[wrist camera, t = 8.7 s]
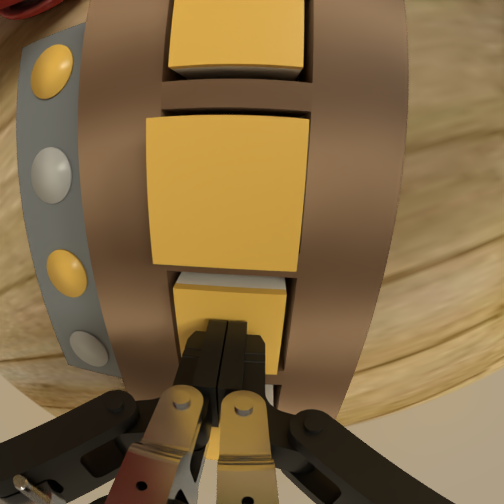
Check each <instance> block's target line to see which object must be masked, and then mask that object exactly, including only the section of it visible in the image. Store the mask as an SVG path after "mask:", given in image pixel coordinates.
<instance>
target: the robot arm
mask: <svg viewBox="0 0 504 504" xmlns="http://www.w3.org/2000/svg"><path fill="white" fill-rule="evenodd" d="M219 420H220V444H219V459H218V466H217V500H216V504H279V499H278V490H277V480H276V470H275V468H279V469H281V471H282V472H283V473H284V474H285V475H286V476H287V477H288V478H289V479H290V480H291V481H292V482H293V483H294V484H295V485H296V486H297V487H298V488H299V489H300V490H301V491H302V492H304V493H305V494H306V495H307V496H308V497H309V498H310V499H311V500H312V501H314V502H315V503H316V504H455V503H453V502H451V501H450V500H448V499H446V498H445V497H443V496H441V495H440V494H438V493H437V492H435V491H434V490H432V489H430V488H428V487H427V486H426V485H424V484H423V483H421V482H420V481H418V480H417V479H415V478H413V477H412V476H410V475H409V474H408V473H406V472H404V471H403V470H402V469H400V468H399V467H397V466H396V465H395V464H393V463H392V462H390V461H389V460H388V459H386V458H385V457H383V456H382V455H381V454H379V453H378V452H376V451H375V450H374V449H372V448H371V447H370V446H368V445H367V444H366V443H364V442H363V441H362V440H360V439H359V438H358V437H356V436H355V435H354V434H352V433H351V432H350V431H349V430H347V429H346V428H345V427H344V426H342V425H341V424H340V423H338V422H337V421H336V420H335V419H333V418H332V417H331V416H330V415H328V414H327V413H325V412H323V411H320V410H316V409H307V410H303V411H300V412H298V413H297V414H295V415H294V414H290V413H286V412H283V411H280V410H278V409H276V408H275V407H273V406H272V405H271V404H270V403H269V402H268V400H267V398H266V395H265V342H264V341H263V339H262V337H261V336H260V335H251V334H247V322H245V321H229V323H228V321H227V320H213V319H210V320H209V322H208V326H207V330H206V332H205V331H195V332H194V333H193V334H192V335H191V336H190V337H189V338H188V339H187V342H186V345H185V350H184V351H183V354H182V357H181V360H180V363H179V366H178V370H177V373H176V376H175V379H174V382H173V385H172V387H170V388H168V389H166V390H165V391H164V392H163V393H162V395H161V397H159V398H156V399H150V400H138V401H135V399H134V398H133V396H132V395H131V394H129V393H127V392H125V391H121V390H113V391H109V392H106V393H104V394H102V395H100V396H98V397H97V398H95V399H93V400H91V401H89V402H87V403H85V404H83V405H81V406H79V407H77V408H75V409H73V410H71V411H69V412H67V413H65V414H63V415H61V416H59V417H57V418H55V419H53V420H51V421H48V422H46V423H44V424H42V425H40V426H38V427H36V428H34V429H31V430H29V431H27V432H25V433H23V434H21V435H18V436H16V437H14V438H11V439H9V440H7V441H4V442H2V443H0V504H66V503H68V502H70V501H72V500H74V499H76V498H78V497H80V496H82V495H84V494H86V493H88V492H90V491H92V490H94V489H96V488H98V487H99V486H101V485H103V484H105V483H107V482H109V481H110V480H112V479H114V478H115V481H114V483H113V485H112V487H111V490H110V492H109V494H108V495H106V496H104V497H101V498H99V499H97V500H95V501H93V502H91V503H90V504H197V499H198V486H199V482H200V478H201V474H202V470H203V466H204V462H205V458H206V454H207V451H208V447H209V439H210V433H211V427H219Z"/></svg>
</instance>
